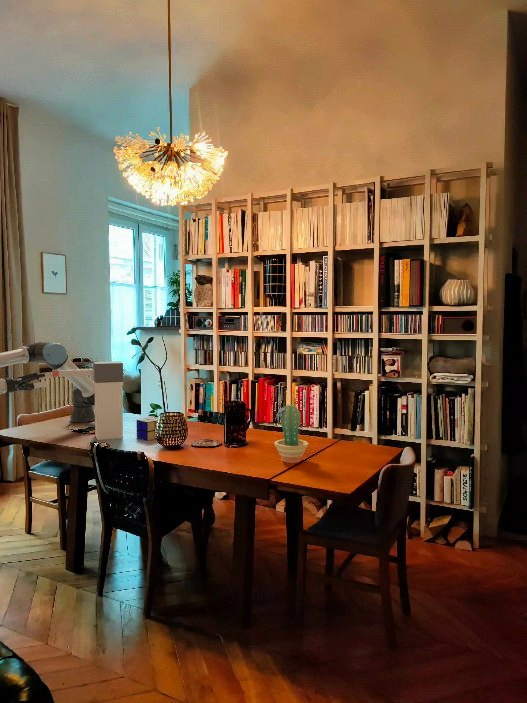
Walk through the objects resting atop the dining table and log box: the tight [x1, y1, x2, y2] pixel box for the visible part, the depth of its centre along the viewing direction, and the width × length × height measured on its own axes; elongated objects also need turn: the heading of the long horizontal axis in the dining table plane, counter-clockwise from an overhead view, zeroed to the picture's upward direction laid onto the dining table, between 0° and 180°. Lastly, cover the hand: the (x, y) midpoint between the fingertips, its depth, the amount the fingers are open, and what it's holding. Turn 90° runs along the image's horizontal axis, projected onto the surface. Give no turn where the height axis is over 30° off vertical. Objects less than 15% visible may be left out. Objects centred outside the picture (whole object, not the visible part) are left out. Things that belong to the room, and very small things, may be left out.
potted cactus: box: [274, 404, 309, 464], centre depth 243 cm, size 15×15×25 cm
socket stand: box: [92, 360, 124, 441], centre depth 288 cm, size 14×14×40 cm
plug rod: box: [51, 368, 95, 378], centre depth 281 cm, size 25×3×3 cm, turn 112°
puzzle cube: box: [136, 417, 159, 442], centre depth 286 cm, size 10×10×10 cm
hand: (49, 379), depth 284 cm, fingers open, 13 cm apart
